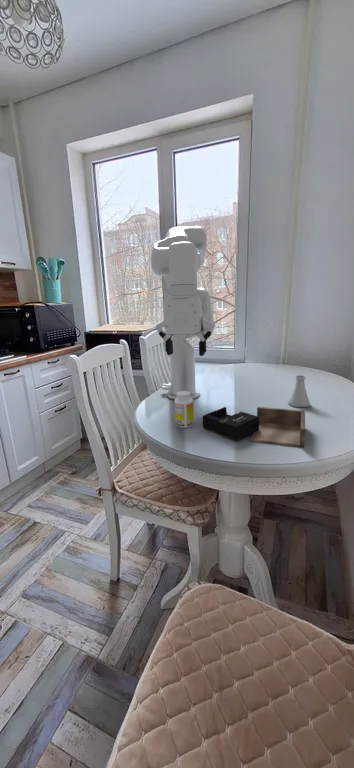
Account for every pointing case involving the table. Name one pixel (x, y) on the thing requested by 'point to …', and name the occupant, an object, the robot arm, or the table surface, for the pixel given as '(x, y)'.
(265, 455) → the table surface
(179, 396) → the supplement bottle
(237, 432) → the battery charger
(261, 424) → the corner arena
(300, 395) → the flask
